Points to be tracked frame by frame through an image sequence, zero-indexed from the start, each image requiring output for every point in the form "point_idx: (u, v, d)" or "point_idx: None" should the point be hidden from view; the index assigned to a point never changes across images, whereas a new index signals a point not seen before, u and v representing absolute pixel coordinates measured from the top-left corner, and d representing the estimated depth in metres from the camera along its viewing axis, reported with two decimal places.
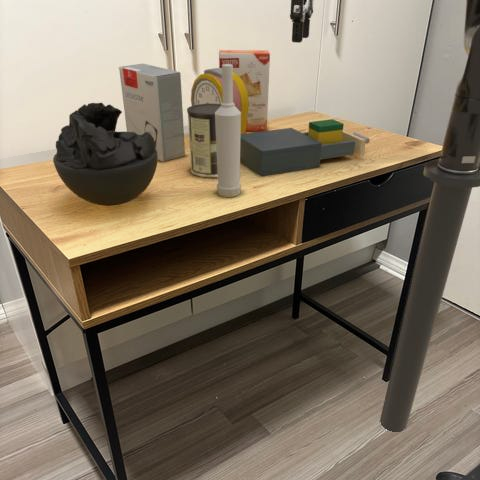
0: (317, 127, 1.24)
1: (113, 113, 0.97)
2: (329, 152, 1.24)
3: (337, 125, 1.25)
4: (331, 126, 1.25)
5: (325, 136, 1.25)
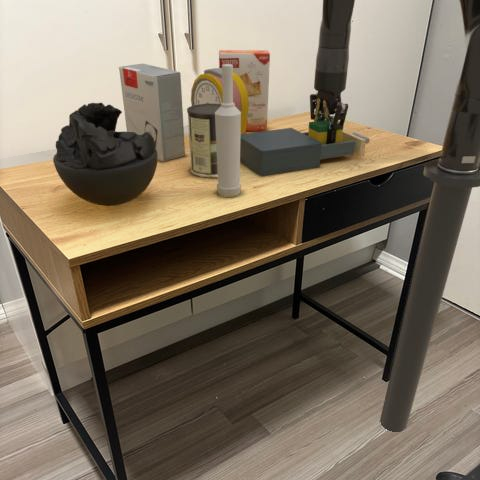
0: (317, 127, 1.24)
1: (113, 113, 0.97)
2: (329, 152, 1.24)
3: None
4: None
5: (325, 136, 1.25)
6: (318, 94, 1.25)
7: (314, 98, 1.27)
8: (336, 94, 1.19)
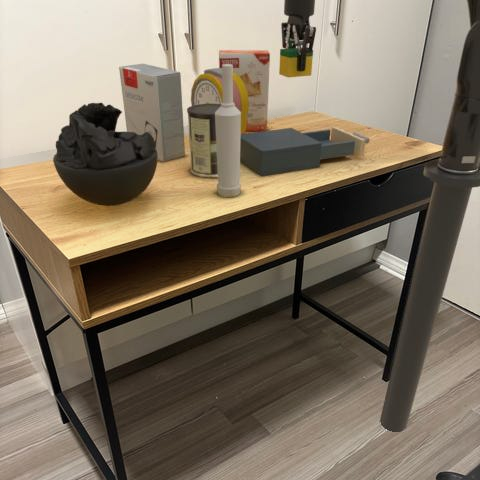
0: (287, 52, 1.29)
1: (113, 113, 0.97)
2: (329, 152, 1.24)
3: None
4: None
5: (296, 61, 1.30)
6: (288, 21, 1.30)
7: (285, 26, 1.32)
8: (304, 18, 1.24)
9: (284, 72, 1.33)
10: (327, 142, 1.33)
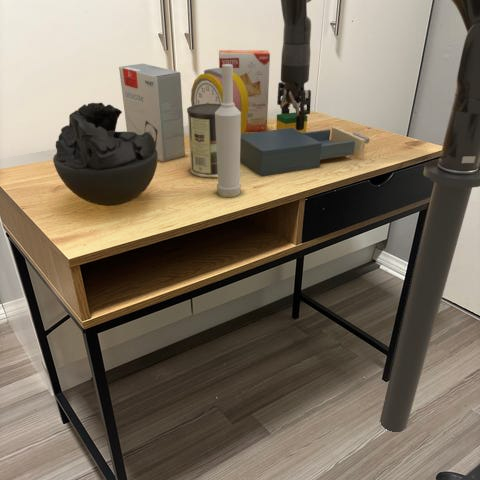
0: (283, 119, 1.39)
1: (113, 113, 0.97)
2: (329, 152, 1.24)
3: None
4: None
5: (291, 126, 1.40)
6: (285, 86, 1.39)
7: (282, 86, 1.41)
8: (299, 85, 1.33)
9: None
10: (327, 142, 1.33)
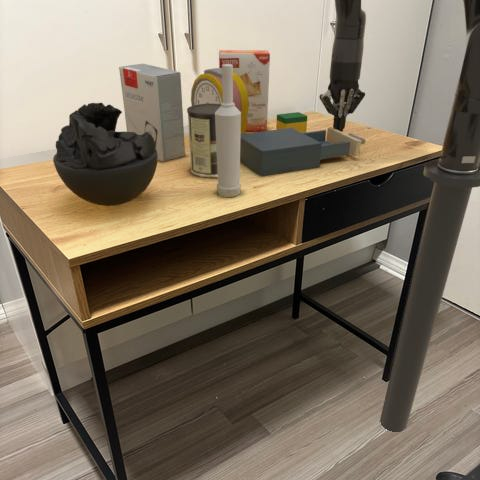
0: (283, 119, 1.39)
1: (113, 113, 0.97)
2: (324, 153, 1.24)
3: (301, 117, 1.40)
4: (296, 118, 1.39)
5: (291, 126, 1.40)
6: None
7: None
8: (330, 81, 1.27)
9: None
10: (323, 143, 1.33)
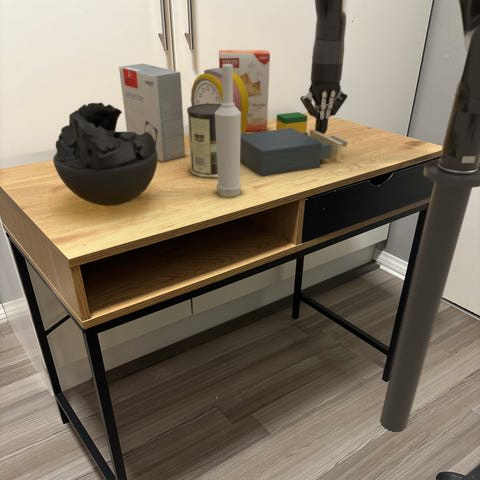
0: (283, 119, 1.39)
1: (113, 113, 0.97)
2: None
3: (301, 117, 1.40)
4: (296, 118, 1.39)
5: (291, 126, 1.40)
6: None
7: None
8: (311, 83, 1.25)
9: None
10: None
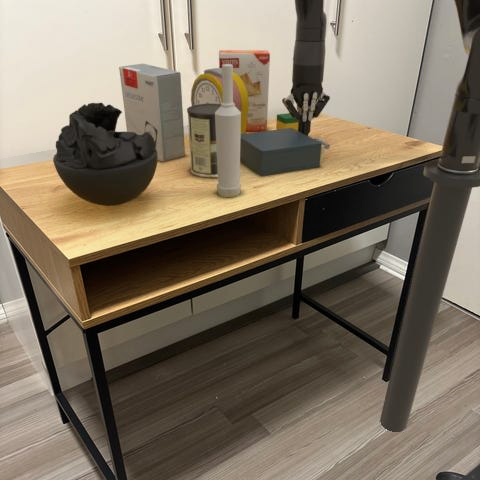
0: (283, 119, 1.39)
1: (113, 113, 0.97)
2: None
3: None
4: None
5: (291, 126, 1.40)
6: None
7: None
8: None
9: None
10: None
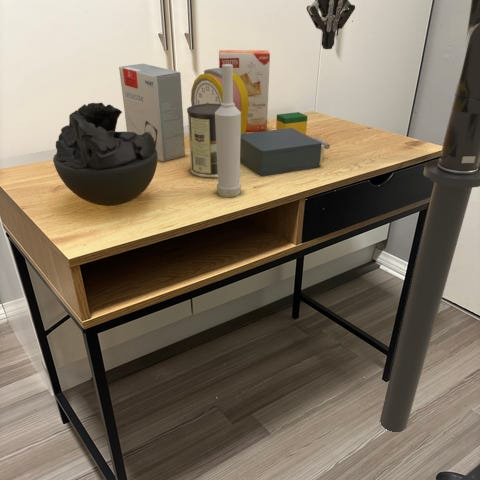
0: (283, 119, 1.39)
1: (113, 113, 0.97)
2: None
3: (301, 117, 1.40)
4: (296, 118, 1.39)
5: (291, 126, 1.40)
6: None
7: None
8: None
9: None
10: None
